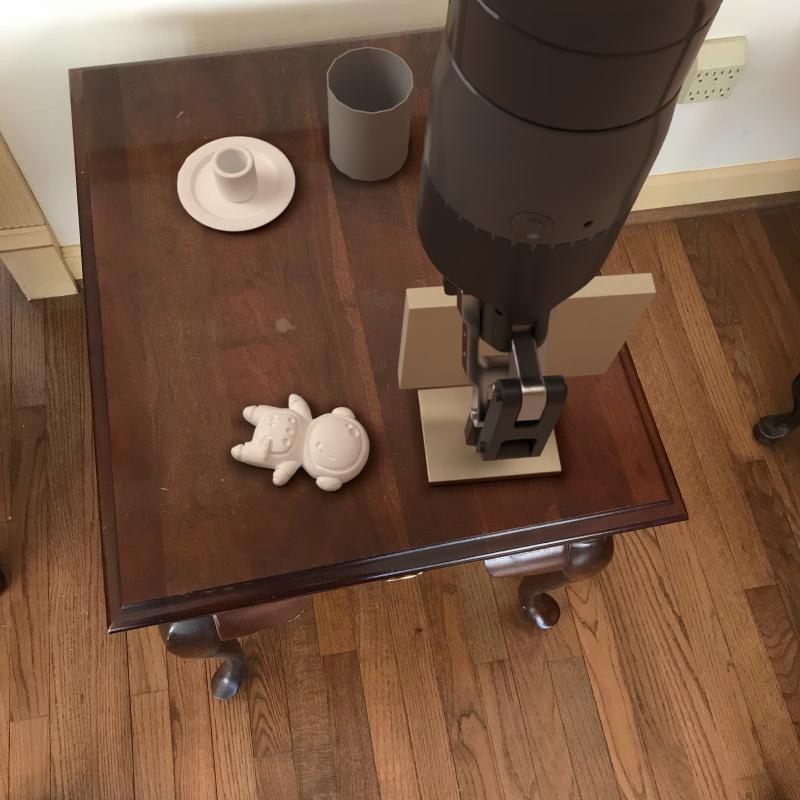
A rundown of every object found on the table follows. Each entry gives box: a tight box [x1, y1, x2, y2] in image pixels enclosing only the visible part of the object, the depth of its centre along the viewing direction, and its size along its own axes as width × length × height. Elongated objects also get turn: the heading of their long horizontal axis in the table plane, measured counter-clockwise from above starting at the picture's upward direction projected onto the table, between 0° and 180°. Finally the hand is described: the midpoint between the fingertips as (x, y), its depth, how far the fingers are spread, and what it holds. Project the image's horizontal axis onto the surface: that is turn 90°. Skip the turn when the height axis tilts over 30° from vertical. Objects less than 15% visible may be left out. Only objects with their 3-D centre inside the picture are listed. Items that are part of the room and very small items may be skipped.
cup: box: [326, 46, 414, 183], centre depth 85 cm, size 8×8×10 cm
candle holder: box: [176, 136, 296, 232], centre depth 85 cm, size 12×12×4 cm
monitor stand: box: [416, 385, 563, 487], centre depth 71 cm, size 9×12×12 cm
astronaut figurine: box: [230, 393, 370, 492], centre depth 74 cm, size 9×12×3 cm
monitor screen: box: [397, 272, 657, 390], centre depth 62 cm, size 2×17×13 cm, turn 96°
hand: (474, 360), depth 43 cm, fingers open, 8 cm apart
